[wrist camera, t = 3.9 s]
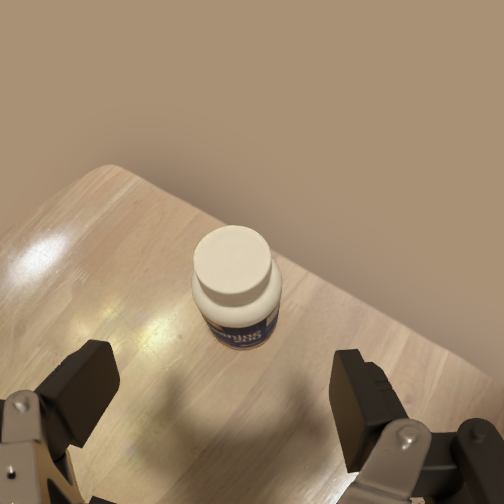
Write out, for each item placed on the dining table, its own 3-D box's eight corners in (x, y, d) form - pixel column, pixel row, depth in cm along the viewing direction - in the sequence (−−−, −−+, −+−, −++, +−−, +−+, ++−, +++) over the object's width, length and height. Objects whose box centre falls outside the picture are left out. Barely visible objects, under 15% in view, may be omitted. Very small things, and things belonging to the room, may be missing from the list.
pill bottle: (200, 339, 22) (161, 288, 14) (223, 280, 25) (203, 206, 17) (266, 360, 21) (268, 321, 13) (285, 298, 24) (296, 227, 16)
